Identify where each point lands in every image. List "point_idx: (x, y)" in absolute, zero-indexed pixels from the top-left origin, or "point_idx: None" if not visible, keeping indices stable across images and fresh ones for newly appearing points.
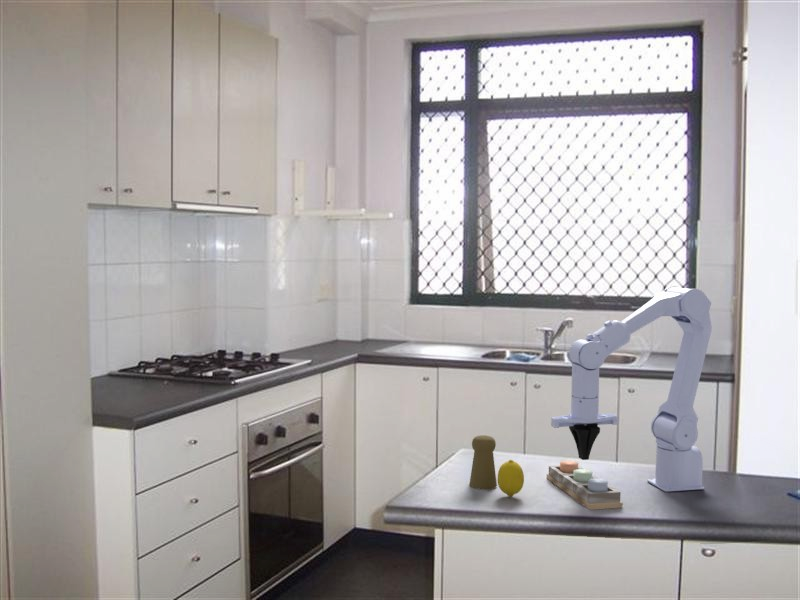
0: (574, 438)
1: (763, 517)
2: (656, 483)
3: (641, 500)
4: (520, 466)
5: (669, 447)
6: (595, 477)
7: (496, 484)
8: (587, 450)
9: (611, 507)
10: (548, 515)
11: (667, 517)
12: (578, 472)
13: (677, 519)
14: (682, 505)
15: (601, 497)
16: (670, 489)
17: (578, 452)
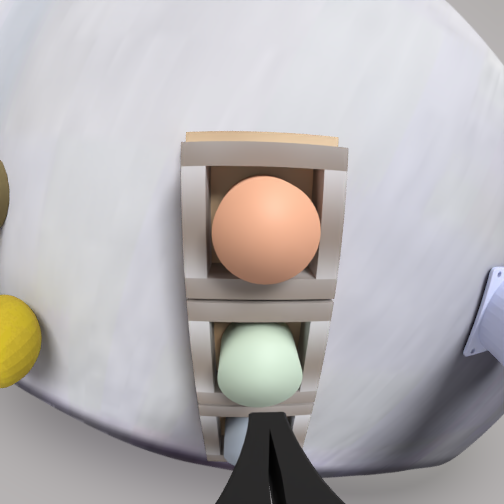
0: (218, 502)
1: (458, 443)
2: (485, 310)
3: (374, 401)
4: (1, 375)
5: None
6: (317, 357)
7: (4, 207)
8: (270, 484)
9: None
10: (107, 429)
11: (342, 465)
12: (235, 384)
13: (350, 469)
14: (419, 420)
15: None
16: (472, 354)
17: (246, 434)
